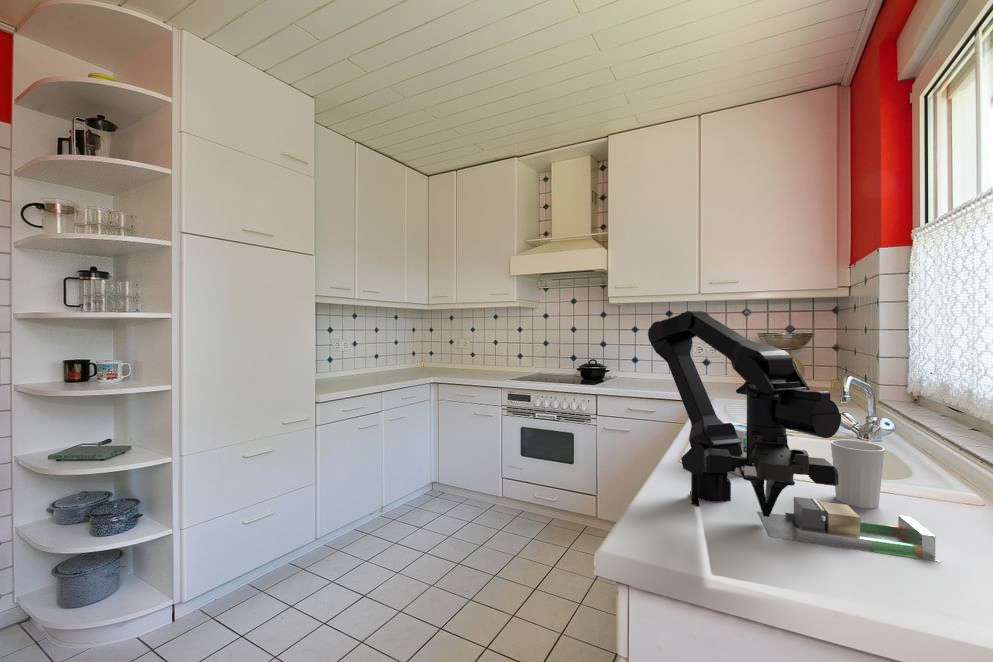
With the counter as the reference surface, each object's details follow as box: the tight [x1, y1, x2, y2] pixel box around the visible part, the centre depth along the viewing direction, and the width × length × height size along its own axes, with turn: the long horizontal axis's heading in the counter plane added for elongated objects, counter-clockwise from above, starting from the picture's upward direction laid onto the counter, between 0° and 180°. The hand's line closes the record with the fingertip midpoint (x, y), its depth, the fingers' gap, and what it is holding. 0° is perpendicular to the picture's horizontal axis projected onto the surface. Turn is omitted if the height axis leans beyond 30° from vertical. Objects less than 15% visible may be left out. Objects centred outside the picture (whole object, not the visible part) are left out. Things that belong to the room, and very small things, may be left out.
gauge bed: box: [757, 510, 942, 563], centre depth 70 cm, size 21×10×2 cm, turn 69°
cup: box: [830, 439, 886, 510], centre depth 83 cm, size 8×8×12 cm
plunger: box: [793, 496, 826, 532], centre depth 71 cm, size 3×6×4 cm, turn 158°
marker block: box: [817, 500, 861, 537], centre depth 70 cm, size 4×5×4 cm
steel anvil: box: [897, 514, 937, 557], centre depth 67 cm, size 2×7×3 cm, turn 159°
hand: (765, 515), depth 74 cm, fingers closed
